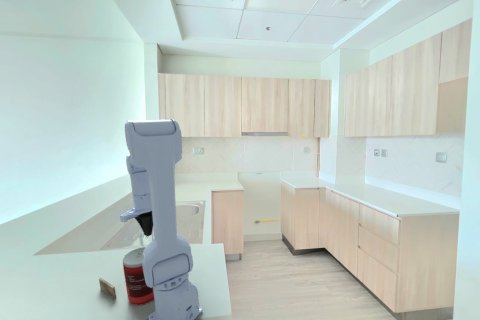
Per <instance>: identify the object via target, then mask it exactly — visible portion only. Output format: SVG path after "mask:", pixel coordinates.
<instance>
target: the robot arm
mask: <svg viewBox="0 0 480 320" xmlns="http://www.w3.org/2000/svg"><path fill="white" fill-rule="evenodd" d="M124 134H125V135H124V136H125V137H124V138H125V142H126V143H125V144H126V147H127V150H128V151H129V154H126V156H125V157H126V159H125V160H126V161H125V164H126V168H127V172H128V175H129V178H130V184H131V185H130V186H131V192H132V199H133V208H131V209H129V210H127V211H126V212H124V213H122V214H120V215H119V218H120V222H122V223H127V222H128V221H130V220H132V219H135V221H136V222H137V223H138V225H139V226H140V228H141V230H142V233H143V235H144V236H145V237H150V236H152V235H153V240H152V241H150V243H149V244H148V245H146V246H145V247H146V248H145V249H144V250H143V260H142V266H143V272H144V277H145V282H146V285H147V286H148V287H150V288H152V287H153V292H154V299H153V301H154V305H155V310H154V311H152V312H151V313H150V315H148V316H147V318H148V320H196V318H197V317H199V315H201V313H202V312H203V309H202V307H200V303H199V299H200V298H199V290H198V288H197V287H196V285H195V284H193V283H192V282H190V280H189V279H188V278H189V276H190V275H189V273H190V272H192V271H193V267H194V259H193V254H192V248H191V245H190V243H189V241H188V240H187V238H186V237H184V236H183V235H180V234H178V230H177V224H178V223H177V206H176V205H177V203H176V188H175V187H176V184H175V169H176V164H178V162H180V161H181V160H182V158H183V157H182V155H183V140H182V131H181V128H180V125H179V123H178V121H176V119H174V118H170V119H153V120H152V119H151V120H147V119H146V120H130V119H128V120H127V121H126V122H125V123H124Z"/></svg>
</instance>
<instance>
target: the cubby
mask: <svg viewBox="0 0 480 320" xmlns="http://www.w3.org/2000/svg"><path fill="white" fill-rule="evenodd" d="M98 282H99V287H100V290H101V291H103V292H104V293H106V294H108V295H109V296H110V297H111V298H113V299H116V298H117V293H116V288H115V287H116V286H114V285H113V284H111V283H110V282H108V281H106V280H105V279H103V278H102V277H100V278H99V279H98Z"/></svg>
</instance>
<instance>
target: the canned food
mask: <svg viewBox="0 0 480 320" xmlns="http://www.w3.org/2000/svg"><path fill="white" fill-rule="evenodd" d="M146 247H147V246H145V247H139V248H135V249H132V250H131V251H129V252H128V253H126V254H125V255H123V258H122V266H123V267H122V268H123V274H124V275H123V276H124V280H125V281H124V282H125V287H126V294H127V299H128V300H129V302H130V304H131V305H134V306H142V305H146V304H148V303H150V302H152V301H154V292H153V287H152V288H150V287H148V286H147V285H146V282H145V277H144V272H143V266H142V260H143V250H144V249H145V248H146Z"/></svg>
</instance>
